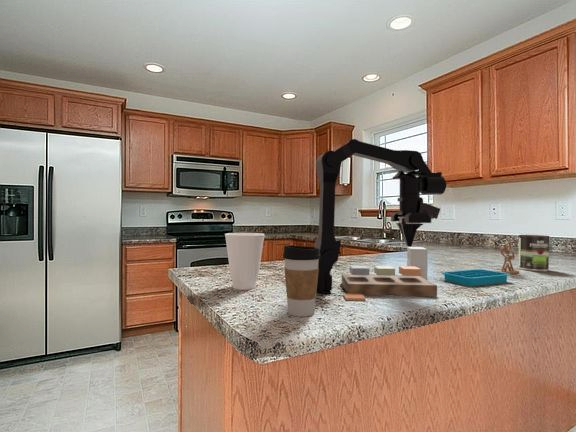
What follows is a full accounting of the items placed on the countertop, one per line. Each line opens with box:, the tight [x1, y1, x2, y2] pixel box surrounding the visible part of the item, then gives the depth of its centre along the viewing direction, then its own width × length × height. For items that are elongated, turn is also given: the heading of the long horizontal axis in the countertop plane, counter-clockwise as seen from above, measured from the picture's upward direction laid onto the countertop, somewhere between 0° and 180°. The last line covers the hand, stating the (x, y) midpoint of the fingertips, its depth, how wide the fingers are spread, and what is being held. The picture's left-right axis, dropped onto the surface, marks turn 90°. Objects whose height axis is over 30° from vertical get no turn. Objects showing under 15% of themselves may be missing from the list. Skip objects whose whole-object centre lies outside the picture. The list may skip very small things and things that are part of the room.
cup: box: [224, 232, 265, 291], centre depth 101 cm, size 12×12×16 cm
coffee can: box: [517, 234, 551, 272], centre depth 139 cm, size 10×10×14 cm
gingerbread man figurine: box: [496, 241, 520, 276], centre depth 128 cm, size 9×4×12 cm, turn 117°
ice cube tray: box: [441, 268, 511, 287], centre depth 113 cm, size 12×20×3 cm, turn 113°
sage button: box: [373, 265, 396, 276], centre depth 101 cm, size 5×5×2 cm
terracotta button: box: [398, 265, 421, 276], centre depth 100 cm, size 5×5×2 cm
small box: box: [406, 246, 428, 280], centre depth 119 cm, size 8×6×10 cm
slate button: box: [349, 265, 370, 275], centre depth 101 cm, size 5×5×2 cm
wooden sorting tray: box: [341, 273, 438, 297], centre depth 99 cm, size 24×15×3 cm, turn 88°
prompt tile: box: [343, 292, 366, 302], centre depth 89 cm, size 5×5×1 cm
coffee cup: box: [282, 244, 321, 318], centre depth 75 cm, size 8×8×15 cm
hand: (409, 246), depth 101 cm, fingers closed
